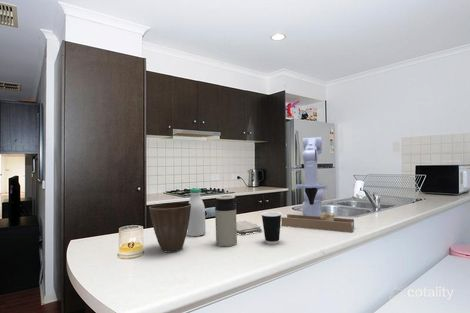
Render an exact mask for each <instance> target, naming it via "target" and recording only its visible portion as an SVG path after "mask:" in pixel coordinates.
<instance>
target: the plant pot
mask: <svg viewBox="0 0 470 313" xmlns="http://www.w3.org/2000/svg"><path fill="white" fill-rule="evenodd" d="M148 208H149V214H150V219H151V224H152V226H153V227H152V228H153V231H154V235H155V237H156V240H157V242H158V245H159V248H160V250H161V251H162V250H163V251H167V252H166V253H169V252H168V251H175V252H178V251H177V250H179V251H181V250H182V249H183V248H184V244H185V240H186V237H187V235H188V225H189V219H190V211H191V204H190V203H189V202H179V201H177V202H165V203H158V204H156V203H155V204H153V205H150V206H149V207H148ZM180 249H181V250H180ZM163 251H162V252H163Z"/></svg>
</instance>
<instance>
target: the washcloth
mask: <svg viewBox="0 0 470 313" xmlns="http://www.w3.org/2000/svg"><path fill="white" fill-rule="evenodd" d="M236 225H237V233H239V234H246V233H253V232H259V233H261V232H260V231H262V232H263V230H262V228H261V226H259V225H258V224H257V223H255V222H251V221H247V220H239V221H236ZM253 234H254V233H253Z"/></svg>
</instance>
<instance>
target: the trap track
mask: <svg viewBox="0 0 470 313" xmlns="http://www.w3.org/2000/svg"><path fill="white" fill-rule="evenodd" d="M288 226H290V227H289V228H298V227H299V228H301V229H309V230H320V231H321V230H322V231H331V232H332V231H333V232H341V233H351V234H352V232H353V231H354V229H355V219H354V218H347V217H346V218H344V217H334V221H325V220H321V217H320V216H306V215H303V214H291V213H289V214H286V217H285V216H281V227H288Z"/></svg>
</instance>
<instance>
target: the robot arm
mask: <svg viewBox="0 0 470 313" xmlns="http://www.w3.org/2000/svg"><path fill="white" fill-rule="evenodd" d="M302 139H303V141H302V144H303V151H302V161H303V166H304V167H303V168H304V169H303V170H304V172H303V173H304V183H303V184H301V183H300V184H295V185H294V186H295V189H297V190H298V189H301V190H303V199H304V201H303V202H302V206H301V208H302V215H306V216H320V217H321V215H320V214H321V213H322V202H323V201H324V190H328V189H329V187H328V185H329V184H320V183H319V182H318V159H319V158H318V157H319V155H321V154H322V150H323V142H322V141H323V138H322V137H321V136H317V137H304V138H302Z"/></svg>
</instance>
